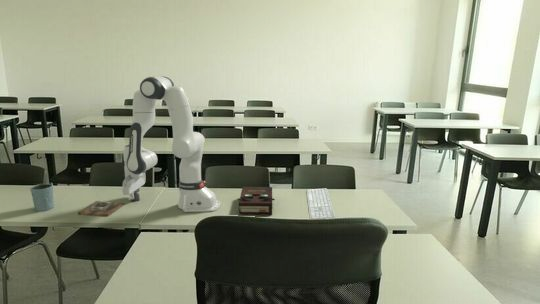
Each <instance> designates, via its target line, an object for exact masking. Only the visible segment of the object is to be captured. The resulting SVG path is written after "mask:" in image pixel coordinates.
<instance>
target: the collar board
mask: <svg viewBox="0 0 540 304" xmlns="http://www.w3.org/2000/svg"><path fill="white" fill-rule="evenodd" d="M124 205H125V203H124V202H119V201H118V202H116V201H115V202H114V201H100V200H98V201H96V200H95V201H94V202H92V203H90V204H89V205H88V206H86V207H84V208H83V209H81V210H80V211H78V212H77V215H84V216H85V215H86V216H98V217H99V216H100V217H109V216H111V215H112V214H113V213H115V212H117V210H119V209H120V208H122V207H123V206H124Z"/></svg>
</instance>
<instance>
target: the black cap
mask: <svg viewBox="0 0 540 304" xmlns="http://www.w3.org/2000/svg"><path fill="white" fill-rule="evenodd" d="M133 194H134V195H135V198H134V199H131V198H130V199H131V202H132V203H133V202H134V203H136V201H137V202H139V201H140V197H141V196H140V195H139V191H137V190H135V191H134V193H133Z"/></svg>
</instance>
